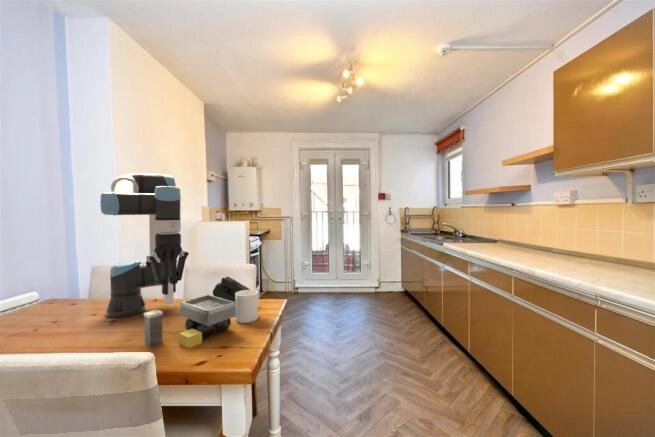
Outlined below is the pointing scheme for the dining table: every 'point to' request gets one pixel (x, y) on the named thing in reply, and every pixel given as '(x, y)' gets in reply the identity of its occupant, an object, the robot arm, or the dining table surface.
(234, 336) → the dining table surface
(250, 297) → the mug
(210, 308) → the grey open rectangular container
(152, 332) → the grey tall block
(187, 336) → the block
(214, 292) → the tool
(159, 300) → the dining table surface
